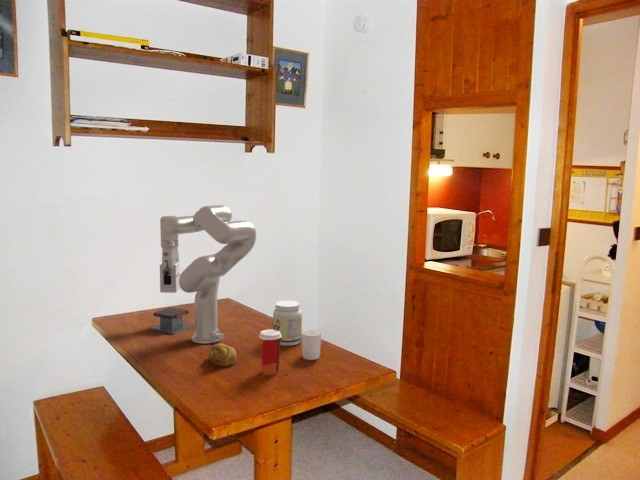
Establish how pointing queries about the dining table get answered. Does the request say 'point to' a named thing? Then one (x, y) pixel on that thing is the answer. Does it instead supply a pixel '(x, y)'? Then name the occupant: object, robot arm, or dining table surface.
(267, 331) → the coffee cup
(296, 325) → the supplement tub
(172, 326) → the jack stand
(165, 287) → the supplement box
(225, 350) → the bread roll
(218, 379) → the dining table surface
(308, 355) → the white cup
